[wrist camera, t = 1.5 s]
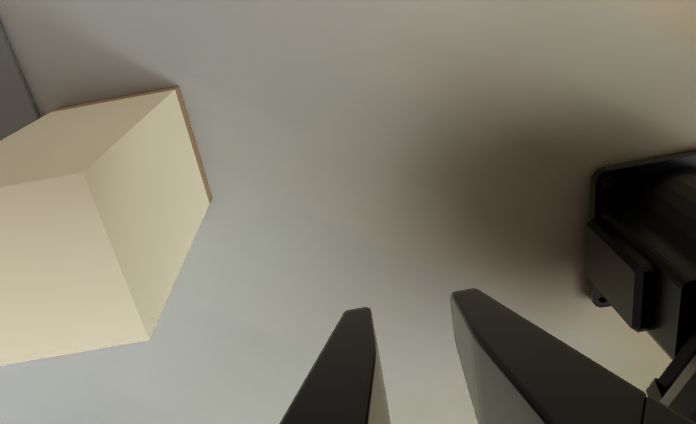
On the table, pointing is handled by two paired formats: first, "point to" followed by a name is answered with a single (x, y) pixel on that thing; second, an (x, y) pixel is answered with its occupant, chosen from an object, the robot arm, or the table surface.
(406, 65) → the table surface
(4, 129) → the grey rubber mat
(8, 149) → the cream block
